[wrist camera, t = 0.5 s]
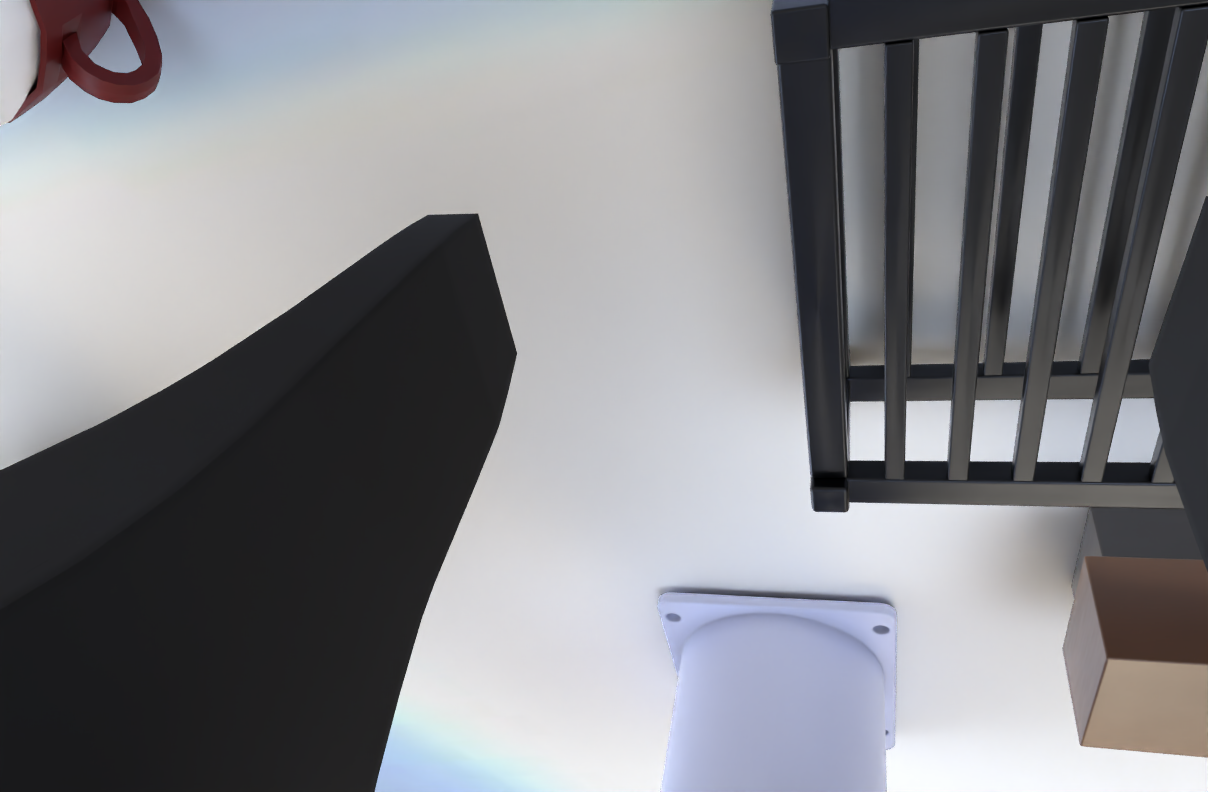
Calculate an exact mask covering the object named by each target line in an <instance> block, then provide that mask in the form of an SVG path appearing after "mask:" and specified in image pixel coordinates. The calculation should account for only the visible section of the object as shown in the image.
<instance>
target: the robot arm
mask: <svg viewBox="0 0 1208 792" xmlns="http://www.w3.org/2000/svg"><path fill="white" fill-rule="evenodd" d="M516 356H517V351H516V348H515V344H514V341H513V337H512V334H511V330H510V327H509V323H508V319H507V316H506V312H505V309H504V305H503V302H502V298H501V294H500V291H499V287H498V284H497V280H496V277H495V273H494V269H493V266H492V262H491V259H490V255H489V252H488V248H487V245H486V241H485V237H484V234H483V230H482V227H481V223H480V220H479V216H478V214H446V215H427V216H425V217H424V218H422V219H420V220H418V221H416V222H415V223H413V224H411V225H410V226H408V227H406V228H405V229H403V230H402V231H400V232H399V233H397V234H396V235H394V236H393V237H391V238H390V239H388V240H387V241H385V242H384V243H383V244H381V245H380V246H378V247H377V248H375V249H374V250H373V251H371V252H370V253H368V254H367V255H365V256H364V257H363V258H361V259H360V260H358V261H357V262H356V263H354V264H353V265H352V266H350V267H349V268H347V269H346V270H345V271H343V272H342V273H340V274H339V275H337V276H336V277H335V278H333V279H332V280H330V281H329V282H328V283H326V284H325V285H323V286H322V287H321V288H319V289H318V290H316V291H315V292H314V293H312V294H311V295H309V296H308V297H307V298H305V299H304V300H302V301H301V302H300V303H298V304H297V305H295V306H294V307H292V308H291V309H290V310H288V311H287V312H285V313H284V314H282V315H281V316H279V317H278V318H276V319H275V320H273V321H272V322H270V323H268V324H267V325H265V326H264V327H262V328H261V329H259V330H258V331H256V332H255V333H253V334H252V335H250V336H249V337H247V338H246V339H244V340H243V341H241V342H240V343H238V344H237V345H235V346H234V347H232V348H230V349H229V350H227V351H226V352H224V353H223V354H221V355H220V356H218V357H217V358H215V359H214V360H212V361H211V362H209V363H207V364H206V365H204V366H202V367H201V368H199V369H198V370H196V371H194V372H193V373H191V374H189V375H188V376H186V377H184V378H182V379H181V380H179V381H177V382H176V383H174V384H172V385H170V386H169V387H167V388H165V389H163V390H162V391H160V392H158V393H156V394H154V395H152V396H151V397H149V398H147V399H145V400H143V401H141V402H140V403H138V404H136V405H134V406H132V407H130V408H129V409H127V410H125V411H123V412H121V413H120V414H118V415H116V416H114V417H112V418H110V419H108V420H106V421H104V422H102V423H100V424H98V425H96V426H94V427H92V428H90V429H88V430H86V431H83V432H81V433H79V434H77V435H75V436H73V437H71V438H69V439H66V440H64V441H62V442H60V443H58V444H56V445H54V446H52V447H49V448H47V449H45V450H43V451H41V452H39V453H37V454H35V455H32V456H30V457H28V458H26V459H24V460H22V461H20V462H17V463H15V464H13V465H11V466H9V467H7V468H5V469H3V470H0V792H375V787H376V783H377V778H378V774H379V771H380V767H381V763H382V759H383V755H384V752H385V748H386V744H387V740H388V736H389V732H390V729H391V725H392V721H393V717H394V713H395V710H396V706H397V702H398V698H399V694H400V691H401V687H402V684H403V681H404V677H405V674H406V670H407V667H408V663H409V660H410V657H411V653H412V650H413V646H414V643H415V639H416V636H417V633H418V629H419V626H420V622H421V619H422V616H423V613H424V611H425V608H426V605H427V602H428V600H429V597H430V594H431V591H432V589H433V586H434V583H435V581H436V578H437V576H438V573H439V571H440V569H441V566H442V564H443V561H444V559H445V557H446V554H447V552H448V549H449V547H450V545H451V542H452V540H453V537H454V535H455V533H456V530H457V528H458V525H459V523H460V521H461V518H462V516H463V514H464V511H465V509H466V506H467V504H468V502H469V499H470V497H471V494H472V492H473V490H474V487H475V485H476V482H477V480H478V477H479V475H480V473H481V470H482V468H483V465H484V463H485V460H486V458H487V455H488V453H489V450H490V448H491V445H492V443H493V440H494V438H495V435H496V433H497V430H498V427H499V424H500V421H501V417H502V413H503V409H504V406H505V402H506V398H507V395H508V390H509V386H510V382H511V378H512V373H513V369H514V365H515V360H516ZM1149 371H1150V377H1151V383H1152V388H1153V394H1154V400H1155V406H1156V412H1157V417H1158V422H1159V427H1160V432H1161V437H1162V441H1163V446H1164V451H1165V455H1166V457H1167V460H1168V463H1169V466H1170V469H1171V472H1172V475H1173V478H1174V481H1175V484H1176V486H1177V489H1178V492H1179V495H1180V498H1181V501H1182V503H1183V506H1184V509H1185V512H1186V515H1187V517H1188V520H1189V523H1190V526H1191V528H1192V531H1193V534H1194V537H1195V539H1196V542H1197V545H1198V548H1199V550H1200V553H1201V556H1202V558H1203V561H1204V564H1205V567H1206V569H1207V572H1208V196H1206V198H1205V201H1204V204H1203V207H1202V210H1201V213H1200V216H1199V219H1198V221H1197V224H1196V227H1195V230H1194V233H1193V236H1192V239H1191V242H1190V245H1189V248H1188V251H1187V254H1186V257H1185V260H1184V262H1183V265H1182V268H1181V271H1180V274H1179V277H1178V280H1177V283H1176V286H1175V289H1174V292H1173V295H1172V298H1171V300H1170V303H1169V306H1168V309H1167V312H1166V315H1165V318H1164V321H1163V324H1162V327H1161V330H1160V333H1159V336H1158V339H1157V341H1156V344H1155V347H1154V350H1153V353H1152V356H1151V359H1150V362H1149ZM658 611H659V614H660V618H661V621H662V624H663V628H664V631H665V635H666V638H667V642H668V645H669V649H670V652H671V655H672V659H673V662H674V666H675V669H676V673H677V676H678V683H677V689H676V696H675V702H674V708H673V715H672V721H671V728H670V734H669V740H668V747H667V753H666V759H665V766H664V772H663V778H662V785H661V791H660V792H887V783H886V750H888V749H891V748H893V747H894V746H895V714H896V648H897V613H896V610H895V609H894V608H893V607H892V606H890V605H888V604H884V603H871V602H852V601H832V600H812V599H793V598H773V597H753V596H734V595H714V594H694V593H675V592H668V593H664V594H662V595H661V596H660V597H659V600H658Z"/></svg>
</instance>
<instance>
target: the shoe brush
mask: <svg viewBox="0 0 1208 792" xmlns="http://www.w3.org/2000/svg"><path fill="white" fill-rule="evenodd" d="M1072 590H1073V595H1074V602H1073V606H1072V611H1071V615H1070V619H1069V623H1068V627H1067V632H1066V636H1065V640H1064V644H1063V654H1064V659H1065V665H1066V670H1067V676H1068V681H1069V687H1070V692H1071V698H1072V703H1073V709H1074V714H1075V720H1076V725H1077V731H1078V736H1079V742H1080V745H1081V746H1085V747H1096V748H1108V749H1119V750H1130V751H1141V752H1152V753H1163V754H1175V755H1186V756H1197V757H1208V572H1207V569H1206V567H1205V564H1204V561H1203V558H1202V556H1201V553H1200V550H1199V548H1198V545H1197V542H1196V539H1195V537H1194V534H1193V531H1192V528H1191V526H1190V523H1189V520H1188V517H1187V515H1186V512H1185V509H1159V508H1109V507H1090V508H1089V512H1088V516H1087V521H1086V525H1085V529H1084V534H1083V538H1082V542H1081V547H1080V551H1079V555H1078V560H1077V564H1076V568H1075V573H1074V577H1073V581H1072Z"/></svg>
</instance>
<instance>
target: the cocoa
mask: <svg viewBox="0 0 1208 792" xmlns="http://www.w3.org/2000/svg"><path fill="white" fill-rule="evenodd" d="M111 13H113V14H114V15H115V16H116V17H117V18H118V19H119V20H120V21H121V22H122V23H123V24H124V25H125V27H126V29H127V32H128V34H129V36H130V38H131V40H132V42H133V44H134V46H135V48H136V50H137V53H138V55H139V58H140V60H141V63H142V65H141V66H140V67H139V68H138V69H137V70H135V71H132V72H129V73H118V72H112V71H110V70H107V69H105V68H103V67H101V66H99V65H96V64H94V63H93V61H92V60H91V59H90V58H89V57H88V55H89V54H90V53H91V52H92V51H93V50H94V48H95V47H96V46H97V44H98V43H99V41H100V40H101V38H102V37H103V35H104V34H105V32H106V31H107V29H108V28H109V26H110V20H111ZM161 68H162V53H161V49H160V45H159V42H158V38H157V35H156V33H155V31H154V28H153V26H152V24H151V22H150V19H149V17H148V16H147V14H146V13H145V11H144V9H143V8H142V6H141V4H140V3H139V1H138V0H0V126H2V125H4V124H5V123H11V122H12V121H13V120H15V119H16V118H18V117H19V116H21V115H22V114H24V113H25V112H26V111H28V110H29V109H31V108H32V107H33V106H35V105H36V104H38V103H39V102H40V101H42V100H43V99H45V98H46V97H47V96H48V95H49V94H50V93H51V92H52V91H53V90H54V89H55V88H56V87H58V86H59V85H60V84H61V83H62V82H63V81H64V80H65V79H66V78H67V77H69V79H70V80H71V81H73V82H74V83H75V84H76V85H78V86H79V87H80V88H81V89H83V90H84V91H85V92H87V93H89V94H91V95H93V96H94V97H96V98H98V99H101V100H105V101H109V102H113V103H133V102H136V101H139V100H141V99H144V98H146V97H147V96H148V95H150V94H151V93H152V92H154V91H155V89H156V87H157V84H158V82H159V78H160V75H161Z"/></svg>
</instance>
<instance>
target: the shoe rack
mask: <svg viewBox="0 0 1208 792" xmlns="http://www.w3.org/2000/svg"><path fill="white" fill-rule="evenodd" d="M1144 11H1145V12H1144ZM1136 12H1144V17H1143V22H1142V28H1141V33H1140V38H1139V44H1138V49H1137V54H1136V60H1135V65H1134V70H1133V76H1132V81H1131V86H1130V92H1129V97H1128V102H1127V108H1126V113H1125V118H1124V123H1123V129H1122V134H1121V139H1120V145H1119V150H1118V155H1117V161H1116V166H1115V171H1114V177H1113V182H1112V187H1111V193H1110V198H1109V203H1108V209H1107V214H1106V219H1105V224H1104V230H1103V235H1102V240H1101V246H1100V251H1099V256H1098V262H1097V267H1096V272H1095V278H1094V283H1093V288H1092V294H1091V299H1090V304H1089V310H1088V315H1087V320H1086V326H1085V331H1084V336H1083V341H1082V347H1081V352H1080V357H1079V361H1053V359H1054V353H1055V347H1056V341H1057V335H1058V329H1059V323H1060V317H1061V310H1062V304H1063V298H1064V292H1065V286H1066V280H1067V274H1068V268H1069V261H1070V255H1071V249H1072V243H1073V237H1074V231H1075V225H1076V219H1077V212H1078V206H1079V200H1080V194H1081V188H1082V182H1083V176H1084V170H1085V163H1086V157H1087V151H1088V145H1089V139H1090V133H1091V127H1092V121H1093V114H1094V108H1095V102H1096V96H1097V90H1098V84H1099V78H1100V72H1101V65H1102V59H1103V53H1104V47H1105V41H1106V35H1107V29H1108V23H1109V18H1108V16H1111V15H1120V14H1128V13H1136ZM1070 20H1073V24H1072V31H1071V39H1070V46H1069V53H1068V61H1067V68H1066V75H1065V82H1064V90H1063V97H1062V104H1061V112H1060V119H1059V126H1058V133H1057V141H1056V148H1055V155H1054V163H1053V170H1052V177H1051V185H1050V192H1049V199H1048V206H1047V214H1046V221H1045V228H1044V236H1043V243H1042V250H1041V257H1040V265H1039V272H1038V279H1037V287H1036V294H1035V301H1034V309H1033V316H1032V323H1031V330H1030V338H1029V345H1028V352H1027V360H1026V362H1005V363H1004V356H1005V348H1006V339H1007V330H1008V322H1009V313H1010V304H1011V296H1012V287H1013V278H1014V270H1015V261H1016V252H1017V244H1018V235H1019V226H1020V218H1021V209H1022V200H1023V192H1024V183H1025V174H1026V166H1027V157H1028V148H1029V140H1030V131H1031V122H1032V114H1033V105H1034V96H1035V88H1036V79H1037V70H1038V62H1039V53H1040V44H1041V36H1042V27H1043V24H1046V23H1054V22H1062V21H1070ZM771 25H772V37H773V49H774V61H775V63H776V65H777V71H778V84H779V96H780V108H781V120H782V133H783V145H784V157H785V169H786V182H787V194H788V206H789V218H790V231H791V243H792V255H793V268H794V280H795V292H796V304H797V317H798V329H799V341H800V353H801V366H802V378H803V390H804V402H805V415H806V427H807V439H808V451H809V464H810V474H811V485H810V491H811V503H812V509H813V510H814V511H816V512H847V511H848V509H849V502H859V503H909V504H959V505H1009V506H1059V507H1109V508H1159V509H1184V506H1183V503H1182V501H1181V498H1180V495H1179V492H1178V489H1177V486H1176V484H1175V481H1174V478H1173V475H1172V472H1171V469H1170V466H1169V463H1168V460H1167V457H1166V455H1165V451H1164V446H1163V441H1162V437H1161V432H1160V433H1159V436H1158V440H1157V443H1156V447H1155V450H1154V454H1153V457H1152V461H1151V463H1122V462H1107V459H1108V455H1109V451H1110V447H1111V443H1112V438H1113V434H1114V430H1115V426H1116V422H1117V417H1118V413H1119V409H1120V405H1121V401H1122V398H1154V394H1153V388H1152V383H1151V377H1150V371H1149V362H1150V359H1139V360H1131V359H1132V355H1133V350H1134V346H1135V342H1136V338H1137V334H1138V329H1139V325H1140V321H1141V317H1142V313H1143V308H1144V304H1145V300H1146V296H1147V292H1148V288H1149V283H1150V279H1151V275H1152V271H1153V267H1154V262H1155V258H1156V254H1157V250H1158V246H1159V241H1160V237H1161V233H1162V229H1163V225H1164V220H1165V216H1166V212H1167V208H1168V204H1169V200H1170V195H1171V191H1172V187H1173V183H1174V179H1175V174H1176V170H1177V166H1178V162H1179V158H1180V153H1181V149H1182V145H1183V141H1184V137H1185V133H1186V128H1187V124H1188V120H1189V116H1190V112H1191V107H1192V103H1193V99H1194V95H1195V91H1196V86H1197V82H1198V78H1199V74H1200V70H1201V65H1202V61H1203V57H1204V53H1205V49H1206V45H1207V40H1208V0H773V4H772V10H771ZM1013 27H1015V35H1014V46H1013V56H1012V67H1011V77H1010V88H1009V98H1008V109H1007V119H1006V130H1005V140H1004V151H1003V161H1002V172H1001V182H1000V193H999V203H998V214H997V224H996V235H995V245H994V256H993V266H992V276H991V287H990V297H989V308H988V318H987V329H986V339H985V350H984V360H983V363H979V352H980V341H981V330H982V319H983V308H984V297H985V286H986V275H987V264H988V253H989V242H990V231H991V220H992V209H993V198H994V187H995V176H996V165H997V154H998V143H999V132H1000V121H1001V110H1002V99H1003V88H1004V77H1005V66H1006V55H1007V44H1008V33H1009V31H1008V28H1013ZM972 32H976V40H975V55H974V70H973V85H972V100H971V115H970V130H969V145H968V160H967V174H966V189H965V204H964V219H963V234H962V249H961V264H960V279H959V294H958V309H957V324H956V339H955V354H954V364H916V365H911V347H912V307H913V267H914V228H915V188H916V149H917V109H918V69H919V39H923V38H931V37H939V36H947V35H955V34H964V33H972ZM882 43H884V268H885V365H872V366H850V350H849V334H848V305H847V276H846V247H845V218H844V190H843V161H842V132H841V103H840V74H839V49H840V48H849V47H857V46H865V45H873V44H882ZM1047 399H1093V404H1092V409H1091V414H1090V418H1089V423H1088V428H1087V433H1086V437H1085V442H1084V447H1083V452H1082V456H1081V461H1080V462H1037V457H1038V451H1039V445H1040V439H1041V433H1042V427H1043V421H1044V415H1045V408H1046V402H1047ZM945 400H951V414H950V429H949V444H948V459H947V461H905V436H906V401H945ZM975 400H1021V403H1020V411H1019V418H1018V425H1017V433H1016V440H1015V447H1014V454H1013V462H979V461H970V451H971V440H972V429H973V418H974V407H975ZM857 401H885V461H850V402H857Z"/></svg>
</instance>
